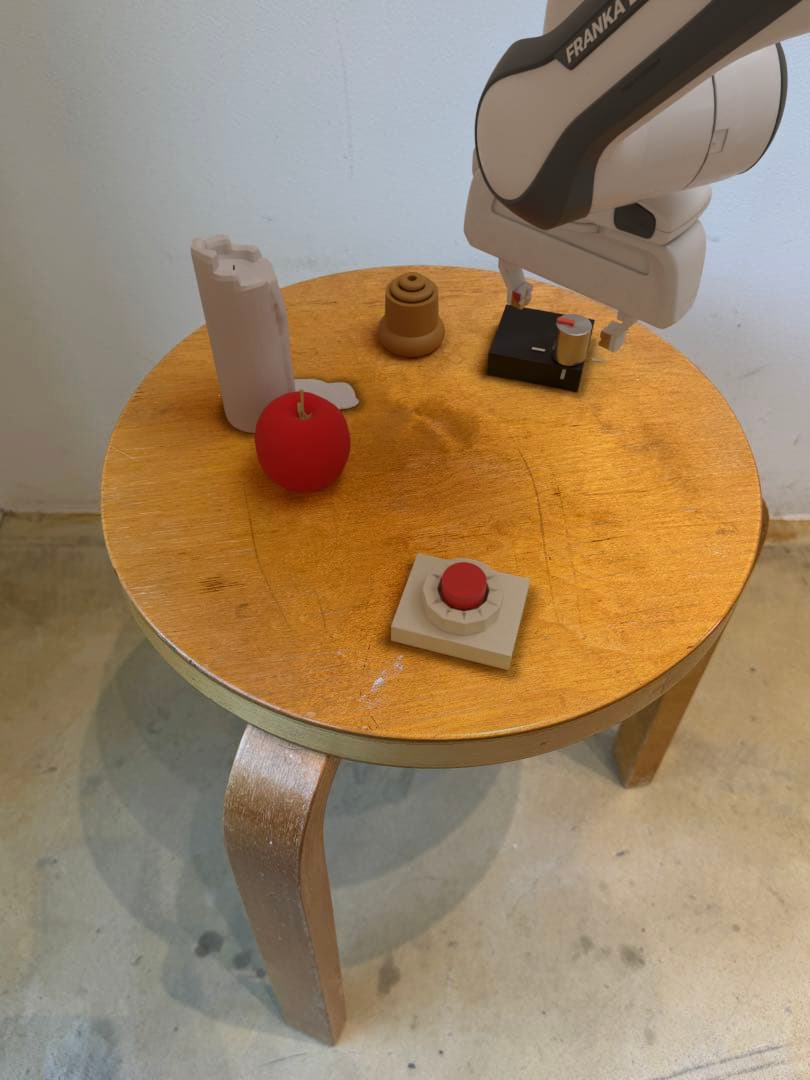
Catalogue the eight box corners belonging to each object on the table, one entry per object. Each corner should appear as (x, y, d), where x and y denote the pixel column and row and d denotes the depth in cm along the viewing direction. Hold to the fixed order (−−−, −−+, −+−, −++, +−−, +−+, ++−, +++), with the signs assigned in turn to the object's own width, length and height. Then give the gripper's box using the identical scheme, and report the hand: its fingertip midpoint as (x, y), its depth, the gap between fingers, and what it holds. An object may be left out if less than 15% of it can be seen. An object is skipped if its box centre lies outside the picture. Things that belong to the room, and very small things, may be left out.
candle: (364, 415, 88) (355, 241, 73) (230, 439, 86) (192, 264, 70) (349, 371, 93) (338, 198, 77) (221, 393, 90) (184, 219, 75)
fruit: (371, 480, 82) (368, 402, 75) (293, 523, 79) (281, 446, 71) (318, 428, 87) (310, 349, 79) (241, 467, 83) (225, 388, 76)
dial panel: (608, 344, 96) (614, 321, 93) (594, 408, 89) (600, 384, 87) (503, 325, 98) (506, 302, 95) (482, 386, 91) (484, 363, 89)
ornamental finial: (454, 330, 97) (427, 368, 93) (395, 312, 99) (366, 349, 95) (458, 268, 91) (429, 306, 87) (395, 251, 93) (364, 287, 89)
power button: (489, 580, 70) (491, 567, 69) (479, 614, 68) (481, 602, 67) (447, 570, 71) (448, 557, 70) (436, 604, 69) (436, 591, 67)
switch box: (527, 593, 74) (533, 565, 71) (508, 670, 69) (513, 644, 66) (417, 567, 76) (417, 539, 73) (390, 640, 71) (390, 613, 68)
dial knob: (587, 348, 90) (595, 314, 87) (582, 369, 88) (589, 335, 85) (554, 342, 91) (560, 308, 88) (548, 362, 89) (554, 328, 86)
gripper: (450, 142, 65) (446, 296, 76) (691, 233, 57) (647, 392, 68) (499, 113, 68) (488, 265, 79) (734, 195, 60) (686, 353, 71)
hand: (563, 324), depth 73 cm, fingers open, 8 cm apart
